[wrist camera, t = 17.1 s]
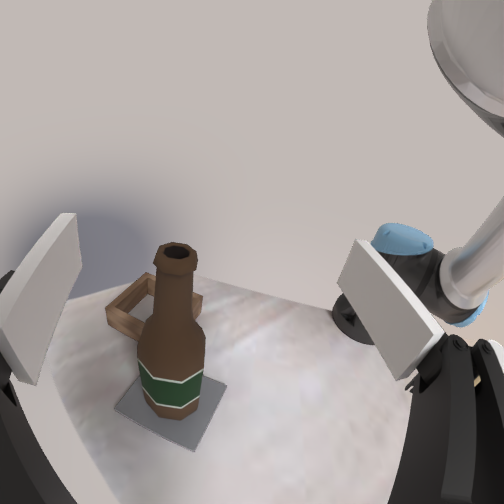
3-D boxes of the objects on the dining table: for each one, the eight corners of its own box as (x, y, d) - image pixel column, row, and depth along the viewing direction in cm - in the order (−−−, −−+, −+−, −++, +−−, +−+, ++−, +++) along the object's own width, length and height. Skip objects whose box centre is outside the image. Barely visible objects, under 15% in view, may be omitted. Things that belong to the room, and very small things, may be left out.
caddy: (200, 312, 51) (202, 296, 49) (168, 357, 40) (168, 341, 38) (146, 288, 53) (146, 272, 51) (108, 324, 42) (105, 307, 40)
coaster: (226, 387, 38) (227, 385, 38) (194, 452, 28) (194, 451, 27) (156, 355, 40) (156, 353, 39) (115, 410, 29) (114, 408, 29)
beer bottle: (162, 368, 37) (164, 220, 26) (209, 391, 36) (239, 247, 24) (134, 404, 31) (108, 254, 19) (184, 432, 29) (195, 295, 18)
